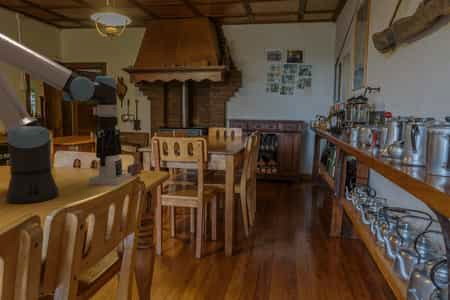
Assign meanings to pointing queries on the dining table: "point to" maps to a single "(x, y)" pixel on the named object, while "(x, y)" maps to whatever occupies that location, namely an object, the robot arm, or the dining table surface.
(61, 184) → the dining table surface
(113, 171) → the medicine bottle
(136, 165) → the rack
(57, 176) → the dining table surface
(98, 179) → the tray
